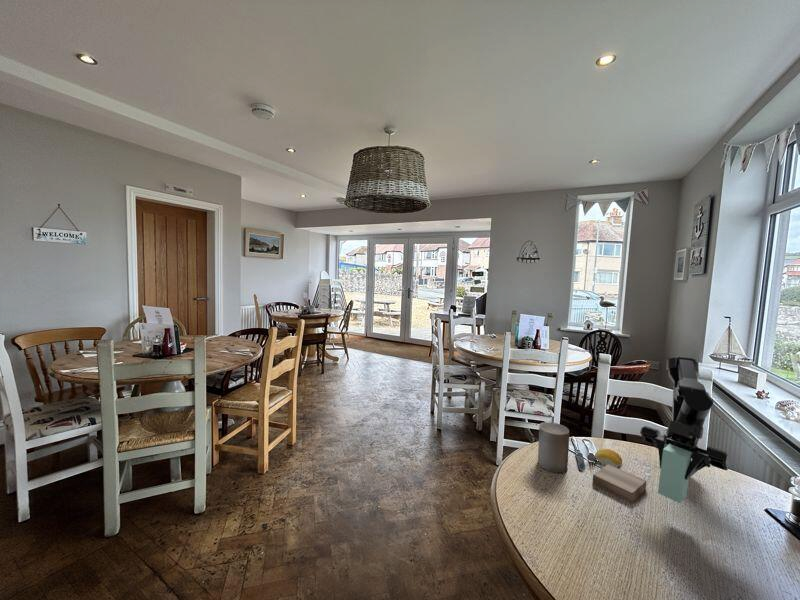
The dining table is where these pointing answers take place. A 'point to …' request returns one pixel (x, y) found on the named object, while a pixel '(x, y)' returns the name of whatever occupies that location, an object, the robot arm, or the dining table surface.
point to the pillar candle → (553, 447)
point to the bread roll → (608, 457)
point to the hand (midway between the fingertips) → (673, 473)
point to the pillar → (674, 473)
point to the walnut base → (619, 482)
